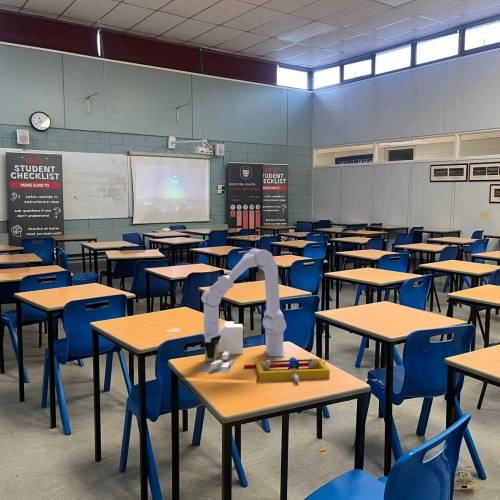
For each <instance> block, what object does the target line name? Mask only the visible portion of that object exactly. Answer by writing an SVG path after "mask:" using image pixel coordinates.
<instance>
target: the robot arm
mask: <svg viewBox="0 0 500 500" xmlns="http://www.w3.org/2000/svg"><path fill="white" fill-rule="evenodd" d="M255 267H259V269H261V270H263V272H264V273H263V274H264V285H265V287H264V289H265V303H266V309H265V310H264V311H263V316H264V317H263V319H262V327H263V328H264V329H265V330H264V331H265V353H266V356H265V357H276V358H278V357H282V358H283V357H284V356H285V353H286V349H285V348H284V332H285V330H286V329H287V323H286V320H285V317H284V314H283V312H282V311H281V307H280V306H281V304H280V287H279V271H278V270H279V269H278V265H277V262H276V261H275V259H274V257H273V253H272V252H270V251H268V250H267V249H259V248H255V247H254V248H251V249H249V250H248V251H247V252H246V253H244V255H243V256H242V258H241V259H240V260H239V261H238V263H237V264H236V265H234V267H233V268H232V269H231V270H230V271H229V272H228V273H227V275H225V274H224V275H221V276H218V277H217V281H216V282H214V283H213V285H210V286H209V288H208V289H206V290H204V291H203V292H202V296H201V297H200V299H201V301H202V304H203V331H202V332H201V333H200V335H203V336H204V339H202V342H201V343H202V344H203V346H204V350H205V349H206V353H207V357H208V358H214V352H215V346H216V343H219V340H220V338H221V335H220V332H219V328H220V315H219V314H220V313H219V311H220V310H219V308H220V307H219V305H220V303H221V301H222V297H224V296H225V295H226V294H227V293H228V292H229V291H230V289H232V288H233V287H234V281H236V280H237V279H238V278H239V277H240V276H241V275H242V274H243V273H244V272H245V271H246V270H248V269H249V268H255Z"/></svg>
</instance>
